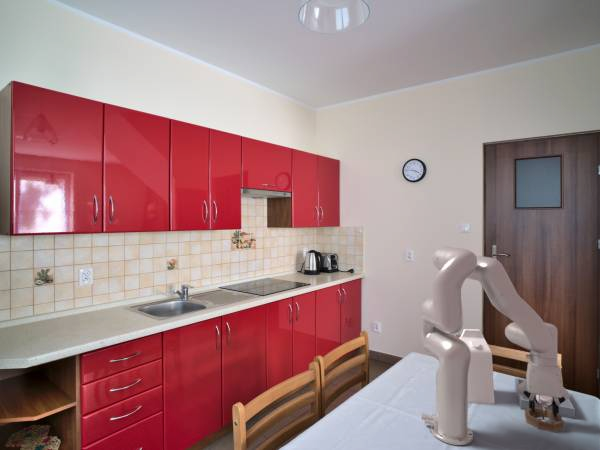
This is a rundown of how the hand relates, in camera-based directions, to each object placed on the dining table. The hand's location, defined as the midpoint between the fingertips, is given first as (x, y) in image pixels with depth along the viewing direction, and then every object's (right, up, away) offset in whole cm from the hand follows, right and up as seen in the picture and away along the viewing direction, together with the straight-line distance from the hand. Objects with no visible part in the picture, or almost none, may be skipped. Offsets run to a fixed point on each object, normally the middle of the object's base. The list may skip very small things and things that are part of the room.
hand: (543, 412), depth 124 cm
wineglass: (0, -4, 0) cm, 4 cm away
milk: (-15, -4, +19) cm, 25 cm away
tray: (+9, -3, +15) cm, 17 cm away
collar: (0, -3, 0) cm, 3 cm away
